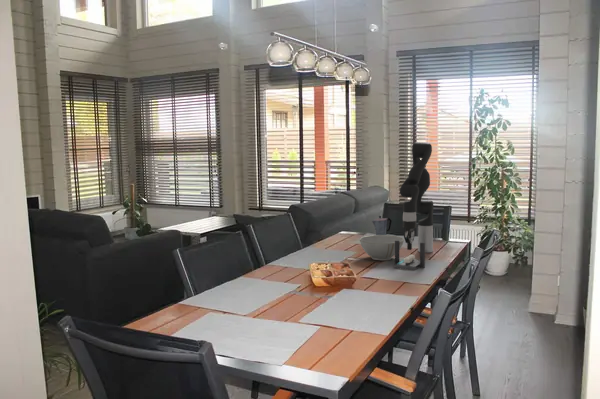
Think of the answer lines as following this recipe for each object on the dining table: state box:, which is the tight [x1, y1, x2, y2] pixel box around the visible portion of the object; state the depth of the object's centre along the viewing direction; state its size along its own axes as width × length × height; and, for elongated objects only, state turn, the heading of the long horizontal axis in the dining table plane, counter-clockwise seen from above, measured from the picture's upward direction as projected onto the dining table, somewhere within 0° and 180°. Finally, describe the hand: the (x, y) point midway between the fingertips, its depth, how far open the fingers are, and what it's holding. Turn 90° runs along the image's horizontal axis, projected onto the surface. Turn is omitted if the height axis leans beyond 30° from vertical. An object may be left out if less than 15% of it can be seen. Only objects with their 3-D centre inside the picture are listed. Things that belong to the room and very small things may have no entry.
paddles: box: [403, 254, 416, 263], centre depth 294 cm, size 10×3×2 cm, turn 149°
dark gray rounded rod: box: [394, 241, 400, 265], centre depth 298 cm, size 3×3×14 cm
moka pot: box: [371, 215, 393, 235], centre depth 359 cm, size 10×15×20 cm, turn 115°
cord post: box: [419, 243, 426, 269], centre depth 290 cm, size 3×3×14 cm
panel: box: [394, 258, 420, 271], centre depth 294 cm, size 16×12×3 cm
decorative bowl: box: [359, 234, 405, 261], centre depth 315 cm, size 27×27×12 cm
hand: (409, 249), depth 293 cm, fingers closed
